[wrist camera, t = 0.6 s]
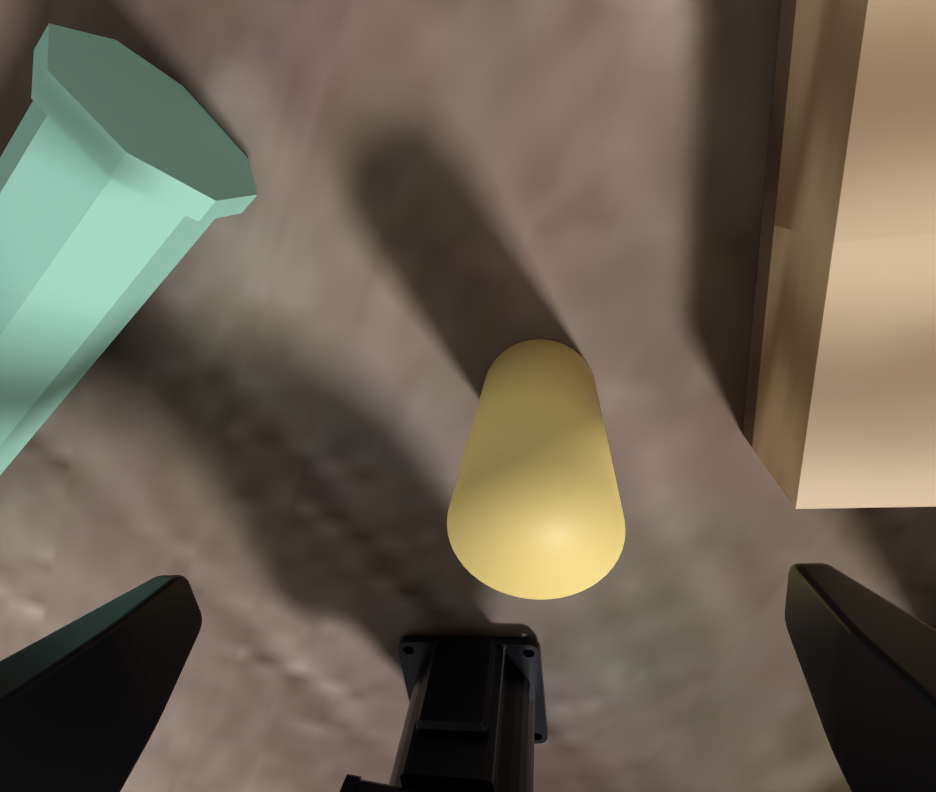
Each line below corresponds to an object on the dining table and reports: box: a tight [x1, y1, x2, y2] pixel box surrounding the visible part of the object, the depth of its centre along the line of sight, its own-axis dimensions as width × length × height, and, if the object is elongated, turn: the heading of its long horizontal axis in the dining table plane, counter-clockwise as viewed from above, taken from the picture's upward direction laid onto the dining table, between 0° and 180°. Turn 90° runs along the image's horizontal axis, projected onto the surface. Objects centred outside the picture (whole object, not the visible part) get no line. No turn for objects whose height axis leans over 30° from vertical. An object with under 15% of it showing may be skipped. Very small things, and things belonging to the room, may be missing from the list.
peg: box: [447, 339, 625, 600], centre depth 16 cm, size 4×4×8 cm
